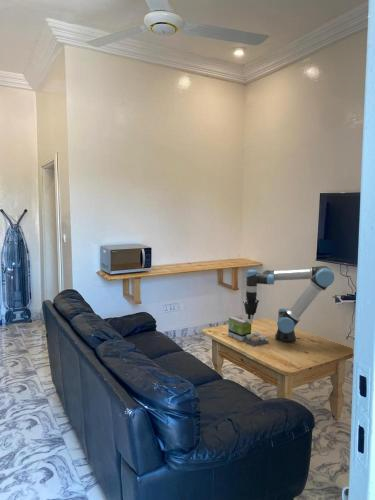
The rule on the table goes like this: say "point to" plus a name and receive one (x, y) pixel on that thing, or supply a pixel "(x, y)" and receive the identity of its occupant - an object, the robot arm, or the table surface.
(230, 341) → the table surface
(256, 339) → the rust key
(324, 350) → the table surface
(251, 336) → the sage key
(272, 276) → the robot arm
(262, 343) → the keypad board
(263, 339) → the ivory key
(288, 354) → the table surface
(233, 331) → the tea box
